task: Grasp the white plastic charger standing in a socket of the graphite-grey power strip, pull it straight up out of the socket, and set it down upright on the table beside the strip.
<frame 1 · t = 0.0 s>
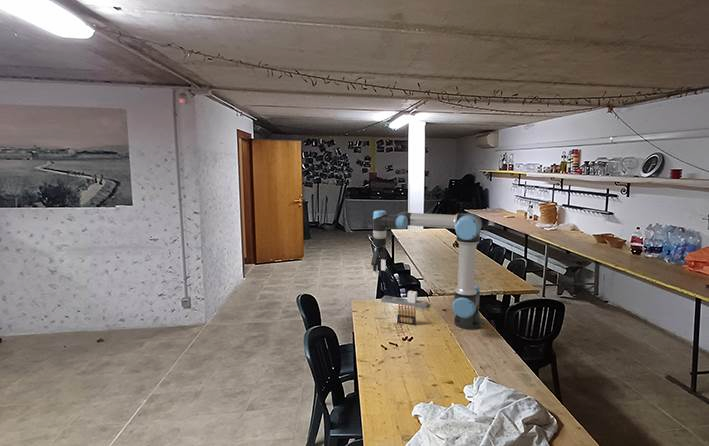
hand: (379, 273, 229), 28 cm above the table, fingers open, 13 cm apart
ammunition clip: (406, 323, 227), on the table
strip: (404, 304, 256), on the table
charger: (412, 304, 254), point 1 cm above the table, touching strip
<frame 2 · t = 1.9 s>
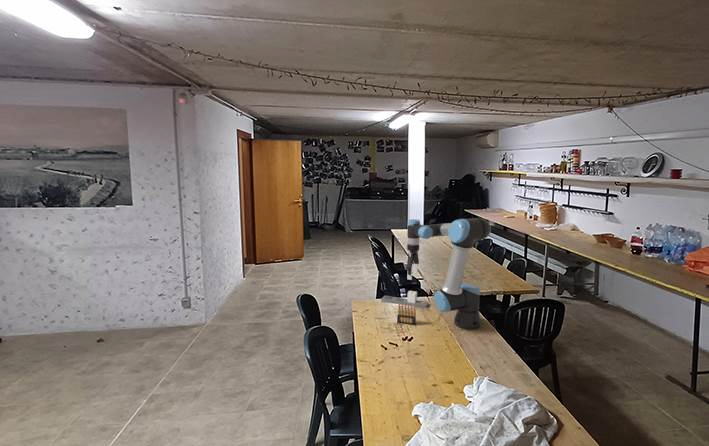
hand: (412, 276, 251), 20 cm above the table, fingers open, 13 cm apart
nothing on the table moved.
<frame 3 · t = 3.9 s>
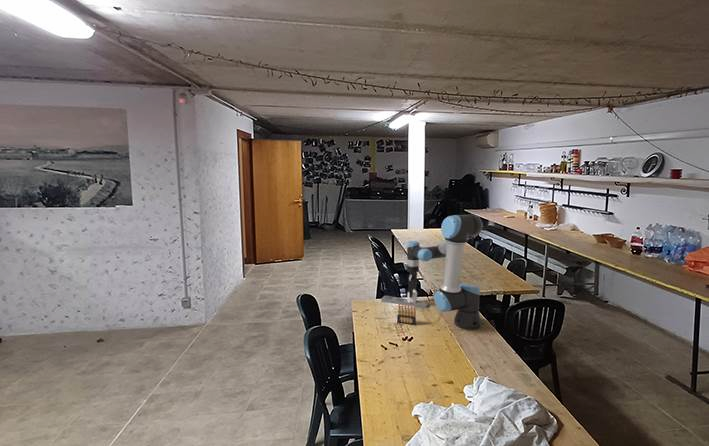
hand: (412, 300, 254), 4 cm above the table, fingers closed on charger, 4 cm apart
charger: (412, 304, 254), point 1 cm above the table, touching gripper, strip
everything else where it was.
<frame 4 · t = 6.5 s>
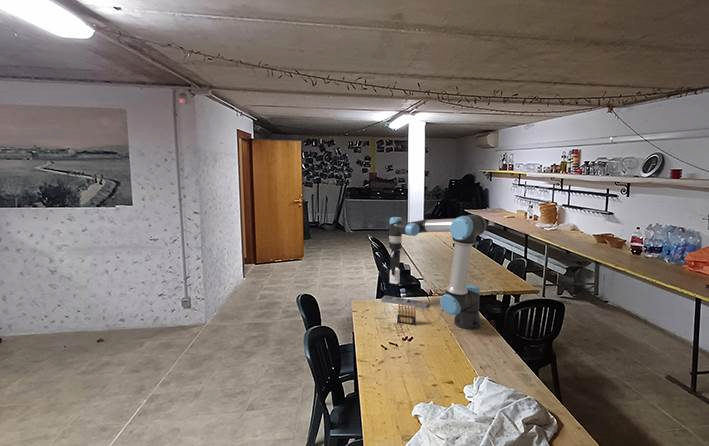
hand: (394, 278, 246), 20 cm above the table, fingers closed on charger, 4 cm apart
charger: (394, 282, 247), point 17 cm above the table, touching gripper
everything else where it was.
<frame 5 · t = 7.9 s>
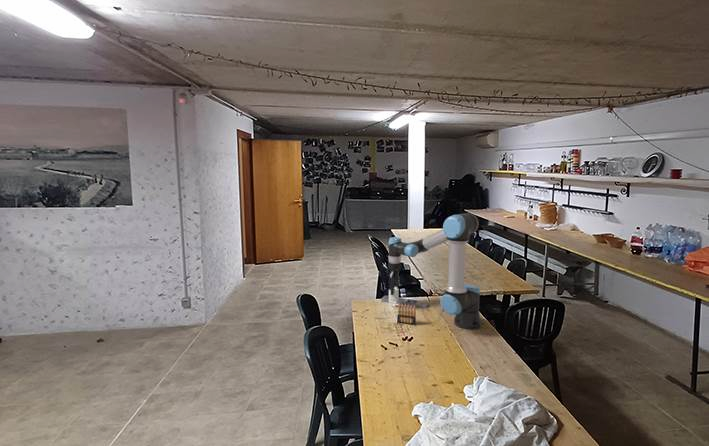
hand: (393, 297, 248), 7 cm above the table, fingers closed on charger, 4 cm apart
charger: (393, 301, 248), point 5 cm above the table, touching gripper
everything else where it was.
when the fingers open (4 cm above the table, at t = 9.0 s): charger drops 2 cm, on the table.
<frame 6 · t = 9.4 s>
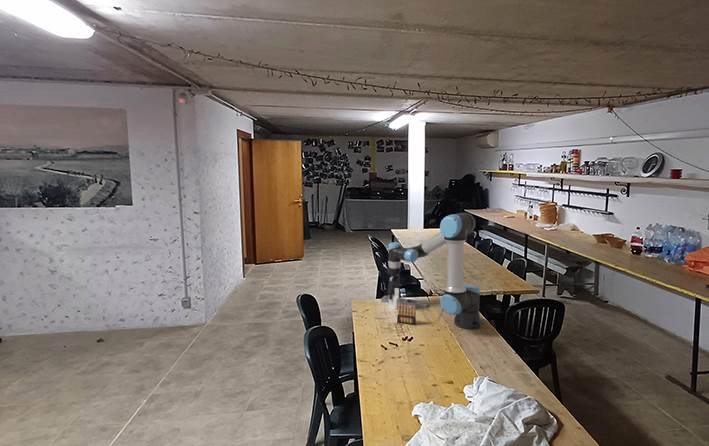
hand: (393, 301, 248), 5 cm above the table, fingers open, 11 cm apart
charger: (393, 309, 249), on the table
everything else where it was.
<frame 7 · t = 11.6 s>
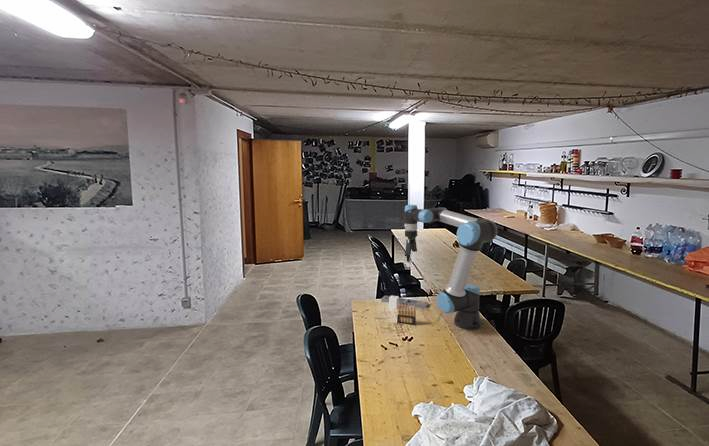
hand: (411, 264, 243), 30 cm above the table, fingers open, 13 cm apart
nothing on the table moved.
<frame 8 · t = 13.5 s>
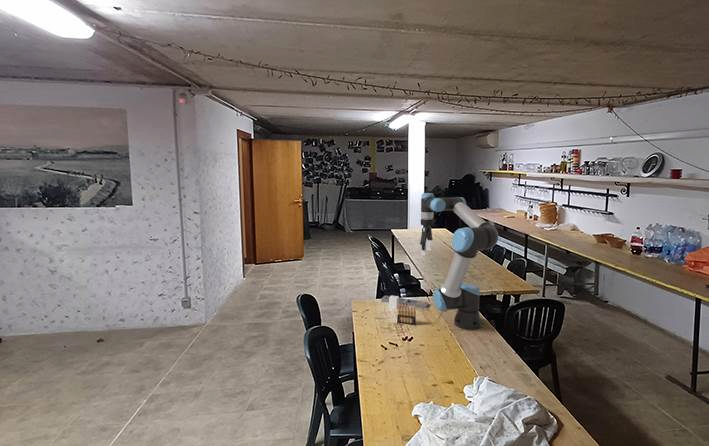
hand: (426, 252, 242), 37 cm above the table, fingers open, 13 cm apart
nothing on the table moved.
at the end: charger inside the target area (0.0 cm from its centre), on the table; charger tilted 0°; charger touching table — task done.
